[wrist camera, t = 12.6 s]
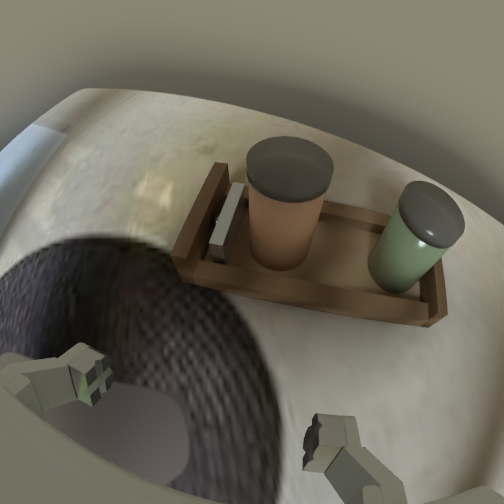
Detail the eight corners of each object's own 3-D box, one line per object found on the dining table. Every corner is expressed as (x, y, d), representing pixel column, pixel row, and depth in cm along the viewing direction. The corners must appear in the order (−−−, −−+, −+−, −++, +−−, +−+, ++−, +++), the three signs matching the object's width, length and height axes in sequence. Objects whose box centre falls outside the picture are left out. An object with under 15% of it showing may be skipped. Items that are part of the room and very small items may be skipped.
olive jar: (365, 289, 21) (409, 229, 14) (366, 238, 24) (398, 173, 17) (418, 298, 20) (471, 247, 13) (414, 249, 23) (454, 191, 16)
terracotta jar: (241, 265, 22) (236, 181, 15) (256, 216, 25) (256, 131, 17) (306, 278, 21) (332, 198, 14) (312, 227, 24) (333, 144, 17)
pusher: (203, 263, 22) (197, 240, 19) (225, 205, 25) (223, 180, 23) (226, 268, 22) (222, 245, 19) (245, 208, 25) (244, 183, 22)
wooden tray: (182, 281, 22) (170, 255, 18) (218, 193, 27) (214, 162, 24) (428, 327, 19) (454, 309, 16) (419, 234, 24) (437, 208, 21)
